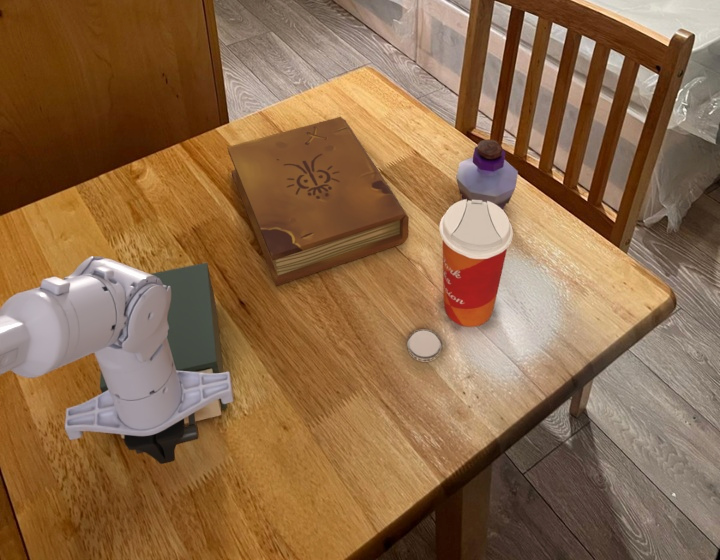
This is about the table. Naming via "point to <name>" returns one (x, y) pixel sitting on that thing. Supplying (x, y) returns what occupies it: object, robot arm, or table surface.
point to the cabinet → (191, 321)
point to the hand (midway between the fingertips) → (167, 452)
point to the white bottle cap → (424, 345)
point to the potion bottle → (487, 175)
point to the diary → (315, 199)
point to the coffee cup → (473, 259)
